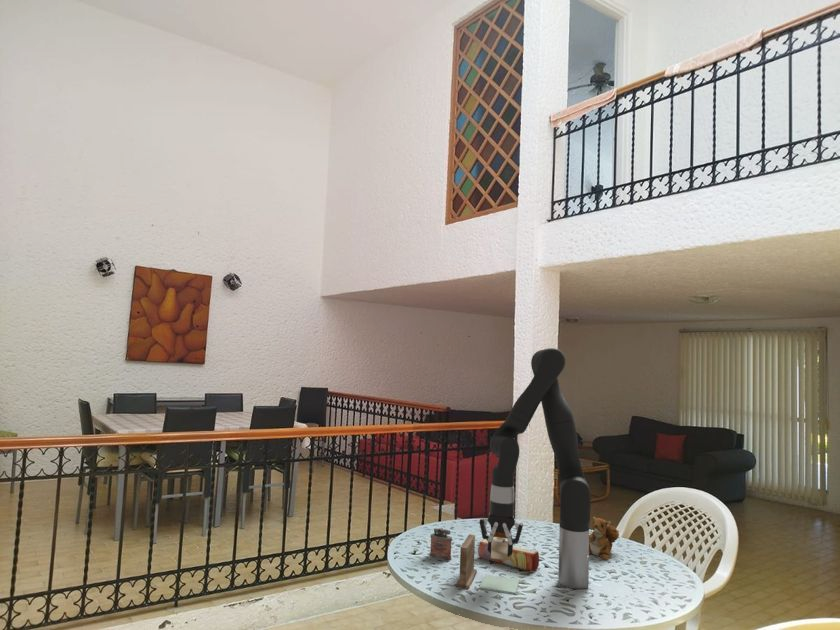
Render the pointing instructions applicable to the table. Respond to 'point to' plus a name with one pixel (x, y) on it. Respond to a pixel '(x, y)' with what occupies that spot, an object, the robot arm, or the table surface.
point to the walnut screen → (467, 563)
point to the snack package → (513, 557)
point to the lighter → (441, 544)
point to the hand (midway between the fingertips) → (500, 554)
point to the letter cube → (499, 548)
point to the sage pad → (499, 584)
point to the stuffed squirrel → (602, 538)
